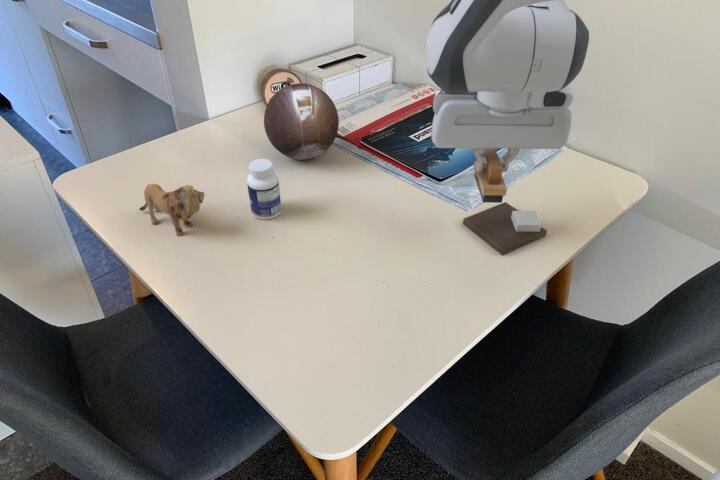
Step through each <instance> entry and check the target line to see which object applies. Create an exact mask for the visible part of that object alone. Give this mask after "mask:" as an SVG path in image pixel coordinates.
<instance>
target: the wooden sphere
mask: <svg viewBox="0 0 720 480" xmlns="http://www.w3.org/2000/svg"><path fill="white" fill-rule="evenodd" d="M339 125H340V119H339V112H338V110H337V107H336V105H335V103H334V101H333V100H332V98H331V97H330V96H329V95H328V94H327V93H326V92H325V91H324V90H322V89H321V88H319V87H318V86H316V85H313V84H309V83H303V82H302V83H301V82H300V83H293V84H287V85H285V86H284V87H281V88H280V89H279V90H277V91H276V92H275V93H274V94H273V95H272V96H271V97H270V99H269V100H268V103H267V105H266V107H265V110H264V115H263V127H264V131H265V135H266V137H267V139H268V141H269V142H270V144H271V145H272V146H273V147H274V148H275V149H276V151H278V152H279V153H280V154H281V155H283V156H284V157H287V158H290V159H294V160H300V161H302V160H305V161H306V160H311V159H314V158H317V157H319V156H321V155H323V154H324V153H325V152H326V151H327V150H329V149H330V147H332V145H333V143H334V142H335V140H336V138H337V135H338V133H339Z"/></svg>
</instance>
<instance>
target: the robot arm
mask: <svg viewBox="0 0 720 480" xmlns="http://www.w3.org/2000/svg"><path fill="white" fill-rule="evenodd" d="M589 43H590V30H589V28H588V27H587V26H586V24H585V22H584V21H583V20H582V18H581V17H580V16H579V15H578V14H577V13H576V12H575V11H574V10H572V9H569V7H568V6H567V3H566V0H450V2H449V3H448V4H447V5H446V6H444V8H443V9H441V11H440V12H439V13H438V14H437V15H436V16H435V18H434V19H433V21H432V23H431V26H430V29H429V31H428V34H427V38H426V43H425V64H426V65H425V66H426V71H427V75H428V77H429V79H431V80H432V82H433V83H434V84H435V85H436V86H437V87H438V88H439V90H438V91H436V92H435V94H434V95H433V99H432V111H433V113H434V115H433V119H432V124H431V130H430V138H431V141H432V143H433V145H435V147H436V148H438V149H472V151H473V154H474V156H475V158H476V161H477V163H476V169H477V172H487V167H488V161H487V158H486V157H483V156H482V155H483V153H484V149H500V150H501V149H502V150H503V149H504V150H506V149H507V151H506V152H505V153H504V155H503V156H501V157H500V156H498V157H499V160H500V162H501V165H502V167H503V171H502V173H506V172H508V170H509V166H510V164H511V162H513V160H515V159H516V157H518V156H519V153H520V150H522V149H523V150H560V149H561V148H563V147H564V146H565V145H566V144H567V143H568V140H569V136H570V132H571V127H572V122H573V121H572V120H573V113H572V110H571V109H570V106H571V105H572V104H573V101H574V94H573V93H574V92H573V91H572V90H571V88H570V87H569V84H571V83H572V82H574V80H575V79H576V78H577V77H578V75H580V73H581V71H582V69H583V66H584V63H585V60H586V56H587V52H588V48H589ZM708 480H720V466H718V468H717V470H716V471H715V472H714V473H713V474H712V476H710V477H709V479H708Z"/></svg>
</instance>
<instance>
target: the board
mask: <svg viewBox="0 0 720 480" xmlns="http://www.w3.org/2000/svg"><path fill="white" fill-rule="evenodd" d="M512 211H519V210H518V209H516V208H515V207H513V206H512V205H510V204H509V203H508V202H506V201H505V202H502V203H499V204H497V205H494V206H491V207H489V208H487V209H484V210H482V211H479V212H477V213H474V214H472V215H469V216H467V217H463V219H462V225H463V226H465V227H466V228H467V229H469V230H470V231H471V232H472V233H473V234H475V235H476V236H477V237H478V238H480V239H481V240H482V241H483V242H484V243H486V244H487V245H488V246H490V247H491V248H492V249H493V250H495V251H496V252H498V253H499V254H500V255H501V256H505V255H507V254H509V253H512V252H513V251H516V250H517V249H520V248H523V247H525V246H527V245H529V244H531V243H533V242H535V241H538V240H541V239H542V238H545V237H546V236H547V233H548V230H547V229H546V228H544V227H542V226H541V229H540V232H516V230H515V227H514V224H513V222H512V219H511V215H512Z"/></svg>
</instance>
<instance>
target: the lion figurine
mask: <svg viewBox="0 0 720 480" xmlns="http://www.w3.org/2000/svg"><path fill="white" fill-rule="evenodd" d="M143 192H144V193H143V197H144V201H145V203H144V205H143V206H141V207H140V208H138V210H139V211H142V212H143V211H145V210H146V209H147V208H148V214H149V217H150V222H151V225H157V224H158V223H159V220H158V218H156V216H155V212H160V211H161V212H162V213H164V214H165V215H168V216H169V218H170V220H171V222H172V225H173V227H174V230H175V234H176V236H177V237H181V236H183V235H184V234H185V232H184V231H183V228H182V227H181V224H180V221H182V223H183V226H184V227H187V228H191V227H192V226H193V222H192V221H189V219H191V218H192V217H193V215H195V214H197V213H198V212H199V211H200V209H201V204H203V203H204V200H205V192H204V191H199V190H197V189H194V186H193V185H192V184H191V185H189V184H186V185H182V186H180V187H178V188H177V189H175V190H173V191H168V192H167V191H165V190H164V189H163V188H162V187H161V185H159V184H156V183H149V184H147V185H146V186H145V188H144V191H143Z"/></svg>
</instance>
